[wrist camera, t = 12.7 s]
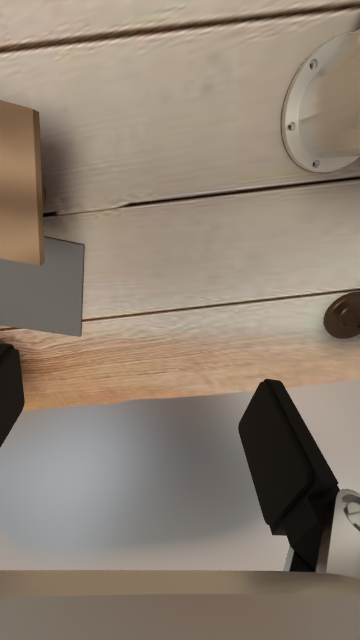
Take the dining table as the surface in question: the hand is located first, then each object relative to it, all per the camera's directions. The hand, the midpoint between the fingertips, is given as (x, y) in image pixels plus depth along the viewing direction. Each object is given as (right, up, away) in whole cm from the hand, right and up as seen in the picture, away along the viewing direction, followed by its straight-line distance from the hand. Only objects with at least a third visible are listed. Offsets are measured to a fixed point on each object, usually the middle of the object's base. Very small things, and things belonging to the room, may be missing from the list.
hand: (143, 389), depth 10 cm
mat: (-22, +8, +29) cm, 37 cm away
